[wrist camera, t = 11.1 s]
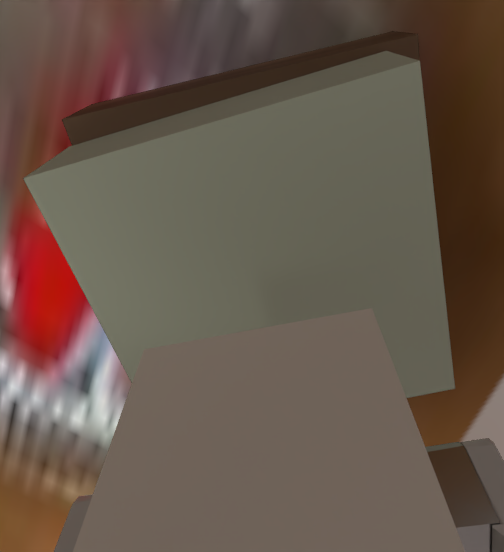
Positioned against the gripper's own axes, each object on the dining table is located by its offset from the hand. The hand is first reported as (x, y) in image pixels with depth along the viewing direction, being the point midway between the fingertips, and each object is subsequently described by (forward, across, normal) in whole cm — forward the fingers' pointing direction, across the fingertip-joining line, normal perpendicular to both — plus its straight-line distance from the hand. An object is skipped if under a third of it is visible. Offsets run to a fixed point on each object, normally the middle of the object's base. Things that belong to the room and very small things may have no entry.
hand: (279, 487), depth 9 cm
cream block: (+2, 0, 0) cm, 2 cm away
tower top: (+12, 0, 0) cm, 12 cm away
